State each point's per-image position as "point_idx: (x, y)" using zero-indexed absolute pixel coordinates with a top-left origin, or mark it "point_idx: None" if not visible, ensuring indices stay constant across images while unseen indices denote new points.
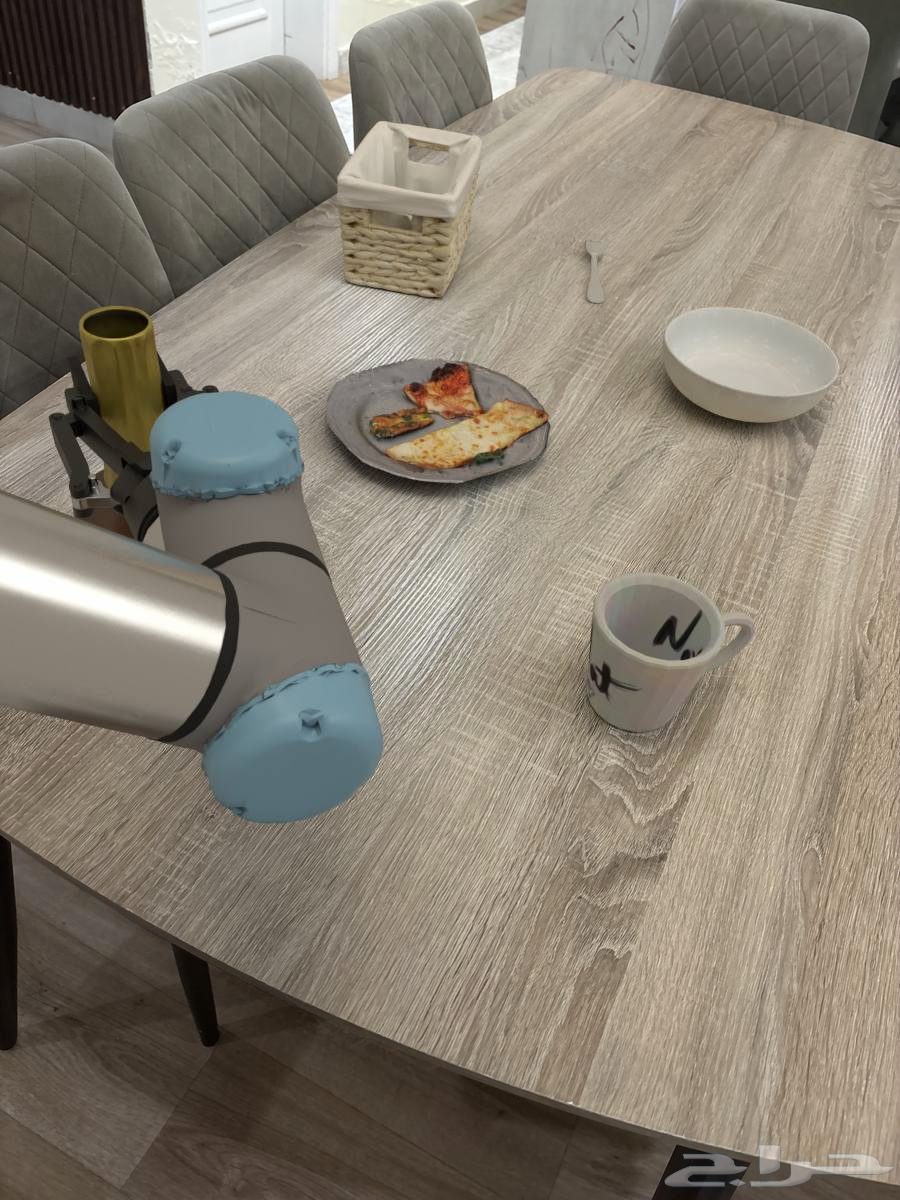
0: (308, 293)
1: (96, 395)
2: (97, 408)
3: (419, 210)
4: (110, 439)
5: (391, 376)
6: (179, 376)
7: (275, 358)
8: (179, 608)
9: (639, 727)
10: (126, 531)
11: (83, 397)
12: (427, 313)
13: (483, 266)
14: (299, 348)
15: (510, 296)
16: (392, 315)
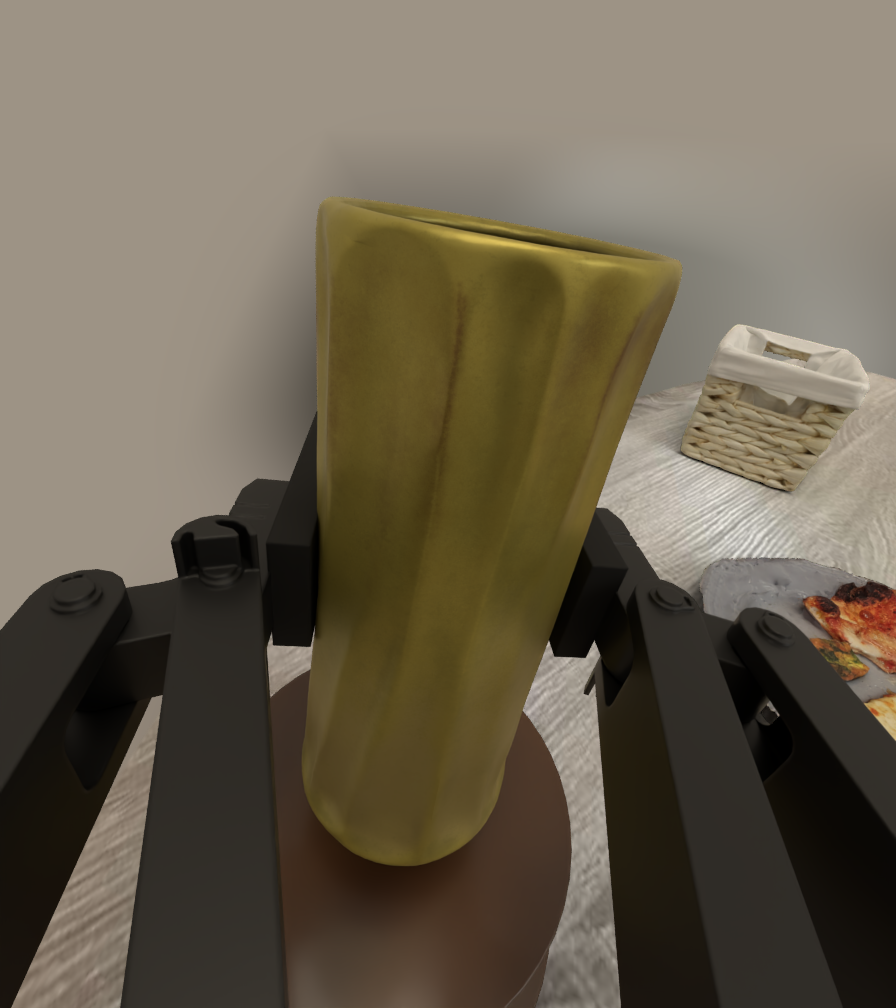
0: (643, 454)
1: (321, 534)
2: (309, 583)
3: (814, 394)
4: (178, 972)
5: (774, 575)
6: (617, 533)
7: (613, 511)
8: None
9: None
10: (300, 932)
11: (247, 534)
12: (779, 504)
13: (820, 472)
14: (639, 506)
15: (869, 509)
16: (739, 497)
